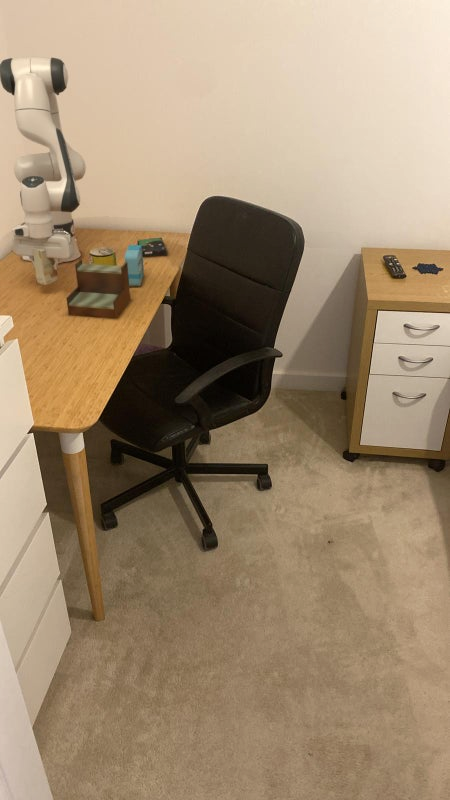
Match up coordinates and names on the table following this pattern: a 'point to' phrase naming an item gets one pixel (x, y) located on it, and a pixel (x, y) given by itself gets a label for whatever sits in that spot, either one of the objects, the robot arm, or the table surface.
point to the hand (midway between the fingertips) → (46, 268)
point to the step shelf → (99, 291)
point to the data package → (134, 264)
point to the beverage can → (103, 256)
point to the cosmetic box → (44, 267)
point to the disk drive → (152, 247)
